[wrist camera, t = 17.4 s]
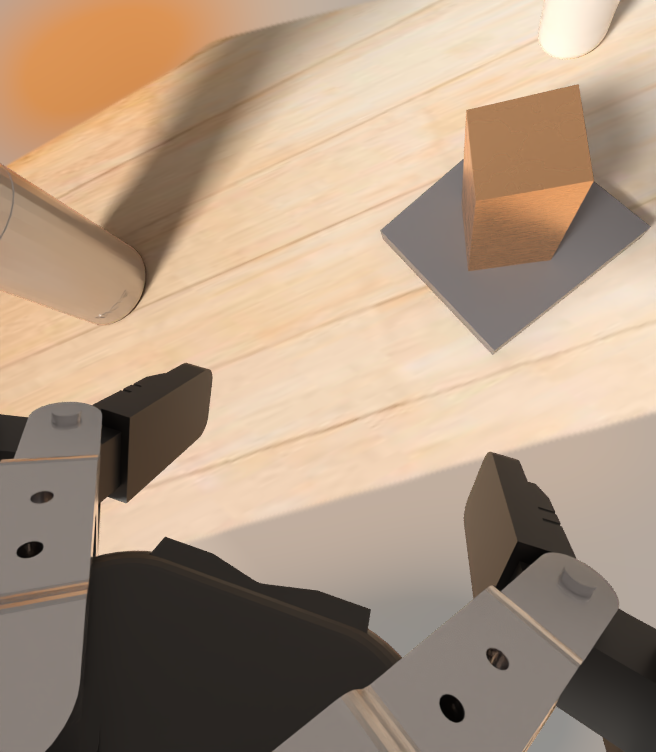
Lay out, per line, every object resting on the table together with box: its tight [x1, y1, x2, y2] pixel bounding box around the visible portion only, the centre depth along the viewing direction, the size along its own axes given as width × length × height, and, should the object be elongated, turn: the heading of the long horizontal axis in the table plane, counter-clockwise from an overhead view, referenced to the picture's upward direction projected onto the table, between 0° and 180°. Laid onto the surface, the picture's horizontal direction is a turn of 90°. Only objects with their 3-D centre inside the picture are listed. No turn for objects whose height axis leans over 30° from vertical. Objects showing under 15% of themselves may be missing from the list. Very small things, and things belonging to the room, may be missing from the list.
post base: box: [380, 159, 650, 355], centre depth 31 cm, size 14×14×8 cm
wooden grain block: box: [462, 84, 594, 271], centre depth 29 cm, size 6×6×10 cm
